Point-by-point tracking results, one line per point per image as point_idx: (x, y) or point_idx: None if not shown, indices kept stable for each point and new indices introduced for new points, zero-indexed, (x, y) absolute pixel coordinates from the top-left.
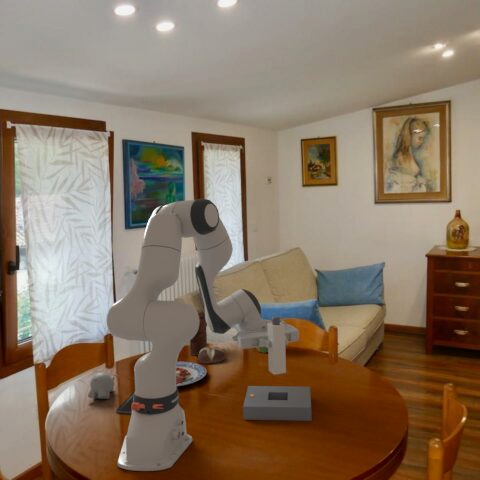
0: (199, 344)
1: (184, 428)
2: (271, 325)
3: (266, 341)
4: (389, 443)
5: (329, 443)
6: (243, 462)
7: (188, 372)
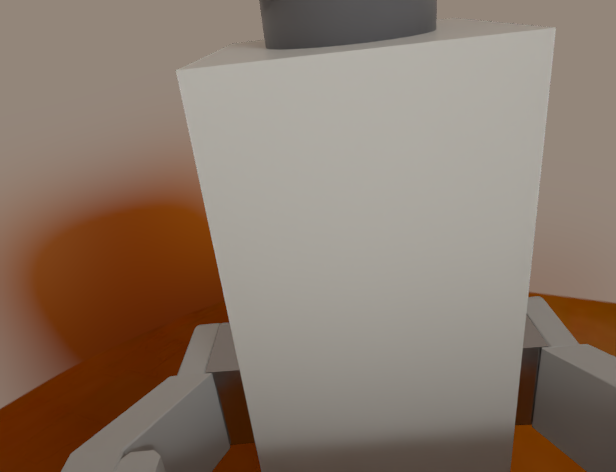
0: None
1: None
2: (468, 20)
3: (550, 317)
4: (173, 327)
5: None
6: (613, 340)
7: None
